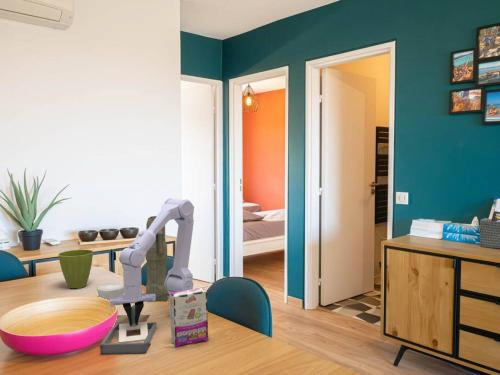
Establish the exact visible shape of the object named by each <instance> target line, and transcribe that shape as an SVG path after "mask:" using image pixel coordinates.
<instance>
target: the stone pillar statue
mask: <svg viewBox="0 0 500 375" xmlns="http://www.w3.org/2000/svg"><path fill="white" fill-rule="evenodd" d="M156 217H157V215H155V216H149V217H147V221H146V228H145V230H147V229H148V228H149V227H150V225H151V224H152V222H153V221H154V220H155V218H156ZM167 259H168V245H167V242H166V225H165V226H164V227H163V228H162V229H161V230H160V231H159V232H158V233H157V234H156V241H155V242H154V244H153V245H152V246H151V247H150V249H149V250H148V251H147V253H146V255H145V260H146V281H147V282H146V285H145V294H155V295H156V301H146V302H147V303H152V302H153V303H154V302H155V303H156V302H167V301H169V294H168V291H167V290H166V289H165V285H164V284H165V280H166V278H167Z"/></svg>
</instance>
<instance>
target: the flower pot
mask: <svg viewBox="0 0 500 375" xmlns="http://www.w3.org/2000/svg"><path fill="white" fill-rule="evenodd" d="M57 257H58V261H59V264H60V269H61V272H62V276H63V277H64V280H65V283H66V285H67V287H68V288H69V289H70V288H79V289H83V288H85V287H86V286H87V283H88V281H89V277H90V273H91V270H92V264H93V257H94V250H91V249H72V250H65V251H62V252H60V253H58V254H57ZM82 287H83V288H82Z"/></svg>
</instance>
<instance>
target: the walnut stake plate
mask: <svg viewBox="0 0 500 375" xmlns="http://www.w3.org/2000/svg"><path fill="white" fill-rule="evenodd" d="M116 315H117V314H116ZM150 316H151V314H140V317H139V321H138V322H148V319H149V318H150ZM116 323H129V319H128V316H127V314H120V315H119V314H118V315H117V320H116V322H115V324H116ZM114 326H115V325H114Z"/></svg>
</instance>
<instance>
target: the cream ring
mask: <svg viewBox="0 0 500 375" xmlns="http://www.w3.org/2000/svg"><path fill="white" fill-rule="evenodd" d="M131 307H132V306H131ZM131 317H132V326H130V325H129V323H128V324H119V330H118V343H137V342H142V341H145V339H146V337H147V335H148V333H149V329H148V328H147V323H148V321H146V322H138V325H136V324H135V313H134V307H132V313H131ZM135 329H140V331H139V332H140V334H139V335H129V336H127V331H134V330H135Z"/></svg>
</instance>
